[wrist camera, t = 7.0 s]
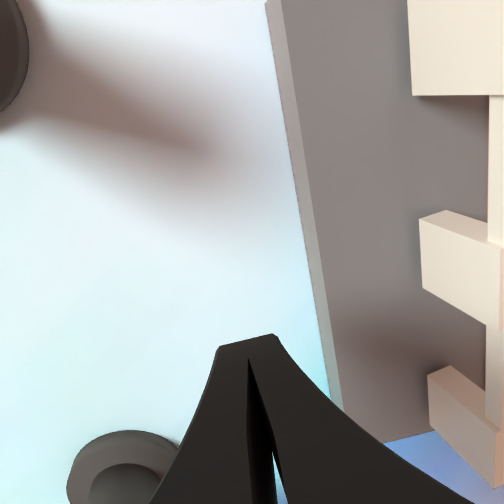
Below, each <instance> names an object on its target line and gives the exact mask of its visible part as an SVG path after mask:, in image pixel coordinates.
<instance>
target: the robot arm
mask: <svg viewBox="0 0 504 504" xmlns="http://www.w3.org/2000/svg"><path fill="white" fill-rule="evenodd" d="M272 452H273V455H272ZM273 456H274V459H275V462H276V465H277V469H278V472H279V475H280V478H281V482H282V485H283V488H284V492H285V495H286V498H287V501H288V504H474V503H473V502H471V501H469V500H467V499H466V498H464V497H462V496H460V495H459V494H457V493H456V492H454V491H452V490H451V489H449V488H448V487H446V486H445V485H443V484H441V483H440V482H438V481H437V480H435V479H434V478H432V477H430V476H429V475H427V474H426V473H424V472H423V471H421V470H419V469H418V468H416V467H415V466H413V465H412V464H410V463H408V462H407V461H406V460H404V459H403V458H401V457H400V456H399V455H397V454H396V453H394V452H393V451H392V450H390V449H389V448H388V447H386V446H385V445H383V444H382V443H381V442H379V441H378V440H377V439H376V438H374V437H373V436H372V435H370V434H369V433H368V432H367V431H365V430H364V429H363V428H362V427H360V426H359V425H358V424H357V423H356V422H354V421H353V420H352V419H351V418H350V417H349V416H347V415H346V414H345V413H344V412H343V411H342V410H341V409H340V408H339V407H338V406H336V405H335V404H334V403H333V402H332V401H331V400H330V399H329V398H328V397H327V396H326V395H325V394H324V393H323V392H322V391H321V390H320V389H319V388H318V387H317V386H316V385H315V384H314V383H313V382H312V381H311V380H310V379H309V377H308V376H307V375H306V374H305V373H304V372H303V371H302V370H301V369H300V367H299V366H298V365H297V364H296V363H295V361H294V360H293V359H292V358H291V356H290V355H289V354H288V352H287V351H286V350H285V348H284V347H283V345H282V344H281V342H280V340H279V338H278V337H277V336H276V335H274V334H272V333H271V334H267V335H263V336H259V337H255V338H251V339H247V340H243V341H238V342H234V343H230V344H226V345H222V346H219V348H218V349H217V351H216V353H215V357H214V361H213V365H212V368H211V371H210V374H209V377H208V380H207V383H206V386H205V389H204V391H203V394H202V396H201V399H200V401H199V404H198V406H197V409H196V412H195V414H194V416H193V419H192V421H191V423H190V425H189V427H188V429H187V431H186V434H185V436H184V438H183V440H182V442H181V444H180V446H179V448H178V451H177V452H176V454H175V456H174V458H173V460H172V462H171V464H170V466H169V468H168V469H167V471H166V473H165V475H164V477H163V478H162V480H161V482H160V484H159V485H158V487H157V489H156V490H155V492H154V494H153V496H152V497H151V499H150V501H149V502H148V504H278V502H277V493H276V483H275V474H274V464H273Z"/></svg>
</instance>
